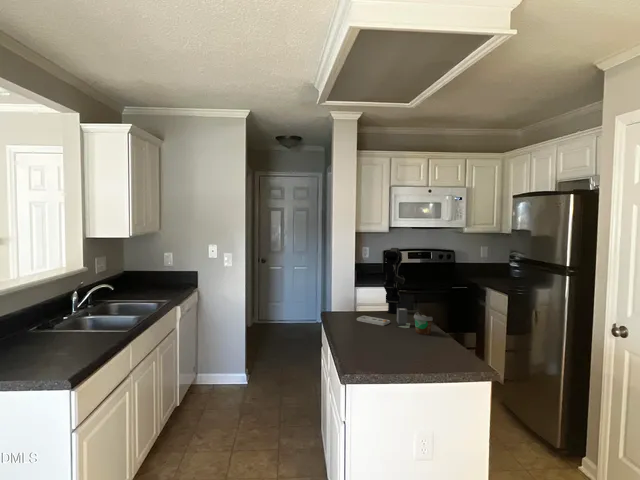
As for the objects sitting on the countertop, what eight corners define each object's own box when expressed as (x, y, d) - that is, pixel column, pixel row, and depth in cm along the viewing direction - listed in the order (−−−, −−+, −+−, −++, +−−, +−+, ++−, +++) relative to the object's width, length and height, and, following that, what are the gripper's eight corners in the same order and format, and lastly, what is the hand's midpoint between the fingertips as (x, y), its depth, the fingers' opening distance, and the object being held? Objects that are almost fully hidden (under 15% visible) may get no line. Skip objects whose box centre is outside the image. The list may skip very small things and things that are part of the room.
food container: (408, 330, 242) (409, 312, 241) (417, 329, 244) (418, 311, 244) (422, 336, 231) (423, 317, 230) (432, 335, 233) (432, 316, 233)
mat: (394, 323, 258) (394, 322, 258) (410, 324, 256) (410, 323, 256) (392, 326, 250) (392, 326, 250) (409, 328, 247) (409, 327, 247)
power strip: (356, 322, 259) (356, 317, 258) (363, 319, 265) (364, 314, 265) (383, 327, 248) (383, 321, 248) (389, 324, 255) (390, 319, 254)
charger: (396, 323, 255) (397, 308, 255) (405, 323, 255) (405, 308, 255) (398, 325, 250) (398, 310, 250) (407, 326, 250) (407, 310, 250)
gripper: (402, 274, 259) (402, 300, 260) (405, 270, 277) (405, 294, 278) (383, 273, 262) (383, 299, 263) (387, 269, 280) (387, 293, 281)
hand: (390, 296), depth 271 cm, fingers open, 9 cm apart
